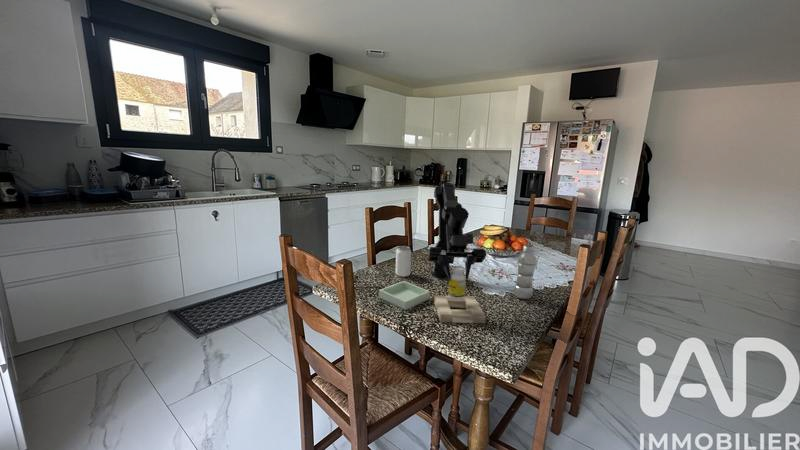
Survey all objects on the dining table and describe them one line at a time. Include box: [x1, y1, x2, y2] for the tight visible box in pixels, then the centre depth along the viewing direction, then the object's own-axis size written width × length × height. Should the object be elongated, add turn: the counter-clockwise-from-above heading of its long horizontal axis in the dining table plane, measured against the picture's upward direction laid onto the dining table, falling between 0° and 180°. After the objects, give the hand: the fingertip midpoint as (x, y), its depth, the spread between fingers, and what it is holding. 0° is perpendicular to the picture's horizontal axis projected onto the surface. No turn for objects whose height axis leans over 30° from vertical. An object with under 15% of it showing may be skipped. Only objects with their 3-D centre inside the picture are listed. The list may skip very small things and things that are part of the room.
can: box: [395, 245, 412, 278], centre depth 135 cm, size 6×6×12 cm
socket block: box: [433, 295, 486, 324], centre depth 104 cm, size 14×14×2 cm
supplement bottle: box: [447, 265, 467, 299], centre depth 103 cm, size 5×5×10 cm
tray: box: [378, 280, 431, 311], centre depth 113 cm, size 13×13×3 cm
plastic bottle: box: [513, 244, 538, 300], centre depth 115 cm, size 6×7×20 cm
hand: (458, 278), depth 101 cm, fingers closed on supplement bottle, 5 cm apart
